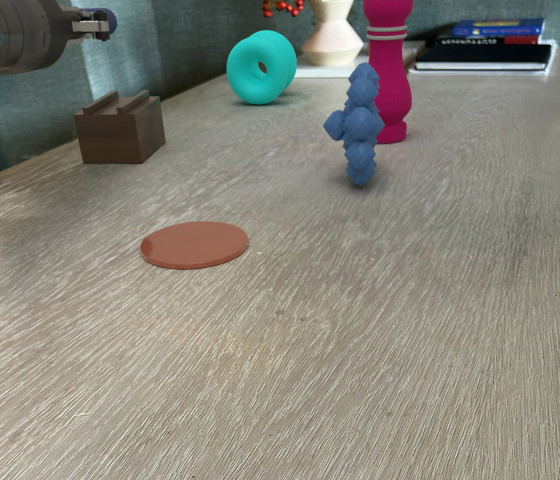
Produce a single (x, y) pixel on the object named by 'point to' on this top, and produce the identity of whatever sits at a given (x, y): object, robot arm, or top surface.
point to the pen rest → (120, 128)
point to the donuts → (250, 78)
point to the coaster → (194, 245)
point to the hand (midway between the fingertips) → (79, 23)
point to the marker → (111, 17)
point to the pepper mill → (389, 64)
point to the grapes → (358, 124)
